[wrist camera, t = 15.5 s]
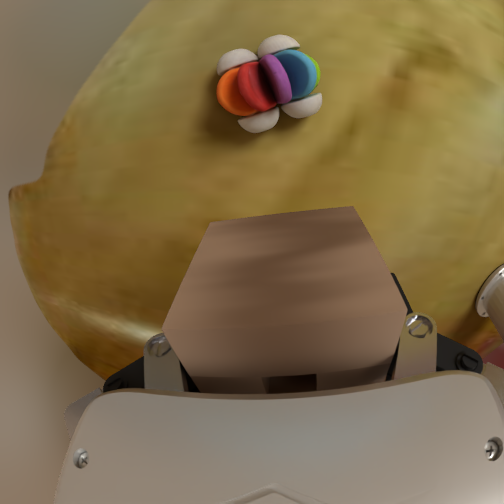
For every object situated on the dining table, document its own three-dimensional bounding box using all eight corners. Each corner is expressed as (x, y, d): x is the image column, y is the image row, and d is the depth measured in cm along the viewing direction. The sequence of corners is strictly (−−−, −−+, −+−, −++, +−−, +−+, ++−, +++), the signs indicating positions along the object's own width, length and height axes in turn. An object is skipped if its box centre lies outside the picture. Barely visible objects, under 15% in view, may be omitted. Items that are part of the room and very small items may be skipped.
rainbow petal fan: (208, 66, 22) (187, 57, 16) (299, 34, 20) (308, 14, 13) (240, 136, 26) (229, 150, 20) (329, 107, 24) (348, 112, 18)
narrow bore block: (352, 206, 10) (407, 309, 5) (349, 311, 14) (369, 413, 8) (210, 222, 11) (161, 329, 6) (238, 321, 15) (221, 421, 10)
